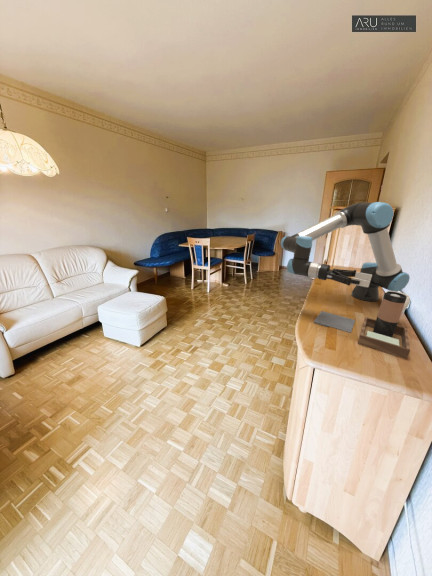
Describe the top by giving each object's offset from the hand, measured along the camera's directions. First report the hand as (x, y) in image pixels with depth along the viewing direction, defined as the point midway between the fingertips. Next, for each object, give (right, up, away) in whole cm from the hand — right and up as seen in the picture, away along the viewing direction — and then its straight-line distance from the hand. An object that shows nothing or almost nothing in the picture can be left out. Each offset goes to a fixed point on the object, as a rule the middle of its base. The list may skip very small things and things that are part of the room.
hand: (370, 280), depth 99 cm
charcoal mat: (-9, -20, +13) cm, 26 cm away
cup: (+21, -21, +17) cm, 34 cm away
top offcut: (0, -25, -6) cm, 26 cm away
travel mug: (+7, -25, +3) cm, 26 cm away
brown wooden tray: (+4, -26, -1) cm, 26 cm away
